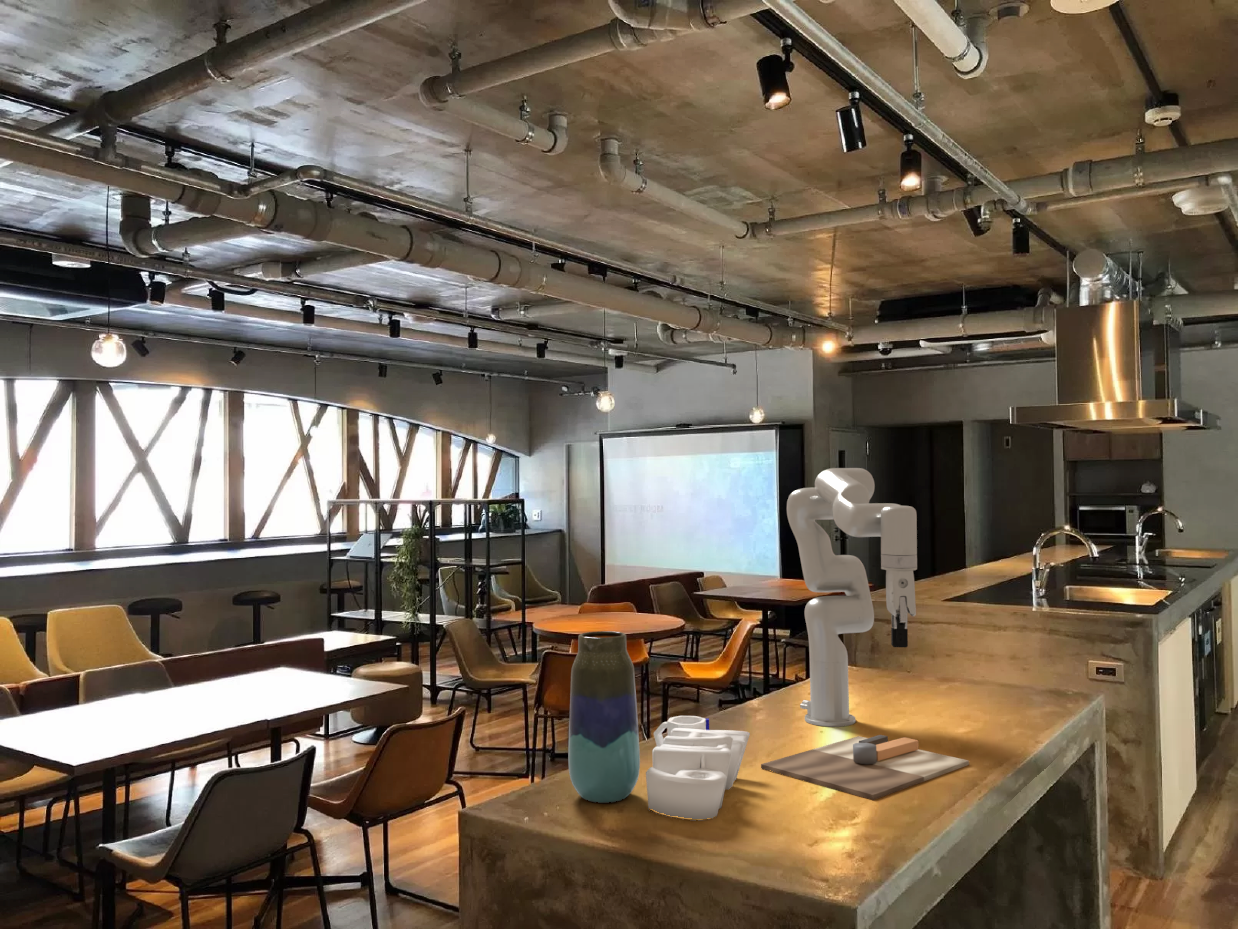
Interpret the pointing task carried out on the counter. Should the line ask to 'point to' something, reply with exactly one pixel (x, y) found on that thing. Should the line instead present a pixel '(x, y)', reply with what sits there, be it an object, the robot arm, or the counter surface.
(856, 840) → the counter surface
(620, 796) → the vase
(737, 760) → the wavy white extrusion
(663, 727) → the mug
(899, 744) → the bar
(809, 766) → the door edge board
